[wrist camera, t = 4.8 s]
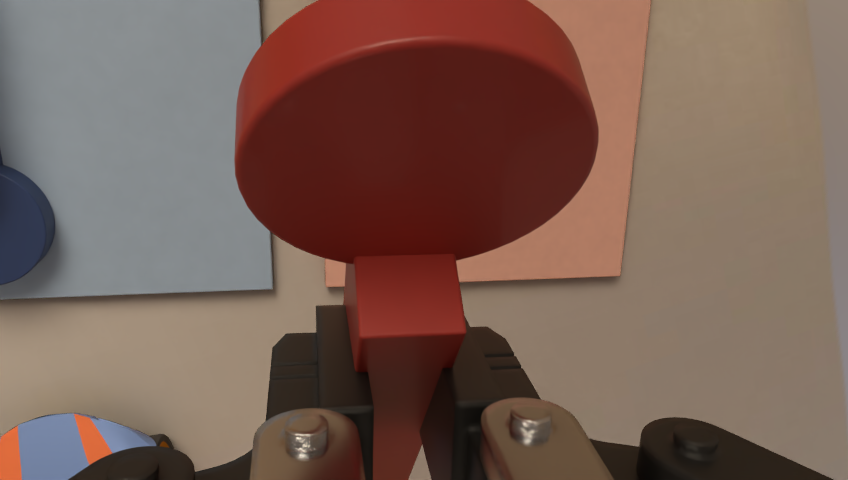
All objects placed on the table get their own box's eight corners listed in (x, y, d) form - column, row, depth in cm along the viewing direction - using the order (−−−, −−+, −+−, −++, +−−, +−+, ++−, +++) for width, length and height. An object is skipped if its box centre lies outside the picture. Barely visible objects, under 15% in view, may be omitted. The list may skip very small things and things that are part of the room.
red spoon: (216, -38, 7) (204, 141, 6) (633, -22, 8) (696, 141, 6) (275, 394, 16) (274, 494, 15) (457, 384, 17) (470, 479, 16)
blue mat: (-147, -96, 22) (-154, -97, 22) (256, -81, 24) (255, -82, 24) (-66, 298, 26) (-71, 302, 26) (273, 285, 28) (272, 289, 28)
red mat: (317, -78, 24) (317, -79, 24) (654, -65, 26) (659, -66, 26) (325, 283, 28) (325, 287, 28) (616, 272, 30) (620, 276, 30)
